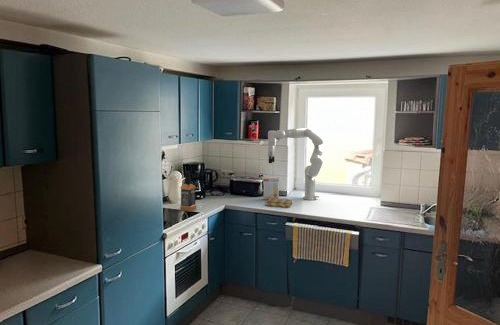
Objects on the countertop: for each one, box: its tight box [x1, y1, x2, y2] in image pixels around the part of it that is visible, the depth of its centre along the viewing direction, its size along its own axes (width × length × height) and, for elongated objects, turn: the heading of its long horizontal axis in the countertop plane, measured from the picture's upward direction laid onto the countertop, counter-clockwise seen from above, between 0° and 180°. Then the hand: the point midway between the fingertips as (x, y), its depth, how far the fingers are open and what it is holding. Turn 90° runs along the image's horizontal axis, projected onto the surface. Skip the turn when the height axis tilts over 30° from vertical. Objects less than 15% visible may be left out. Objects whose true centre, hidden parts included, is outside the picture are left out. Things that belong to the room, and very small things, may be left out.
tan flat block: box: [266, 198, 293, 209], centre depth 325 cm, size 20×14×4 cm
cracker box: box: [263, 176, 280, 201], centre depth 346 cm, size 14×6×21 cm, turn 84°
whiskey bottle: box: [179, 170, 197, 213], centre depth 303 cm, size 10×10×32 cm
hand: (271, 162), depth 343 cm, fingers open, 9 cm apart
